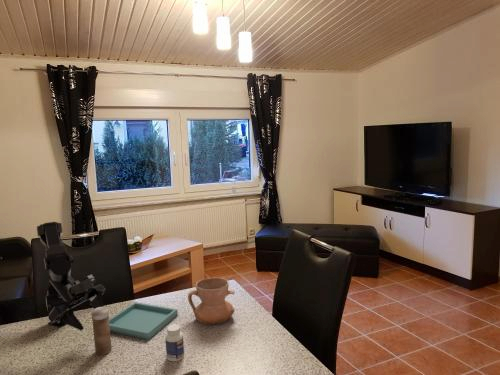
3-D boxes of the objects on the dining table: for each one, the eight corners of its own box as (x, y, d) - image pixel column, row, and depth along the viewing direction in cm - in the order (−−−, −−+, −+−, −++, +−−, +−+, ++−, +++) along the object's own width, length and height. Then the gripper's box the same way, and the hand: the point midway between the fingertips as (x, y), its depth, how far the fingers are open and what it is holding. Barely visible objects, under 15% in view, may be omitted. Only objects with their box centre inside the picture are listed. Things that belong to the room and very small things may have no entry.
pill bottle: (180, 362, 108) (178, 332, 107) (163, 361, 109) (161, 331, 108) (186, 352, 113) (185, 323, 112) (171, 351, 115) (169, 322, 113)
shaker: (91, 354, 114) (87, 312, 112) (103, 345, 119) (99, 305, 117) (103, 357, 112) (99, 315, 110) (115, 348, 117) (111, 308, 115)
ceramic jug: (239, 310, 140) (237, 275, 138) (232, 329, 126) (230, 290, 124) (195, 309, 143) (193, 275, 141) (183, 328, 129) (180, 290, 127)
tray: (102, 330, 128) (101, 323, 128) (135, 307, 145) (135, 302, 145) (148, 340, 121) (148, 333, 121) (177, 315, 138) (177, 309, 137)
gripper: (50, 281, 106) (82, 322, 103) (98, 261, 123) (126, 295, 121) (35, 303, 110) (65, 342, 107) (83, 280, 127) (110, 314, 125)
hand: (94, 322), depth 115 cm, fingers open, 9 cm apart
